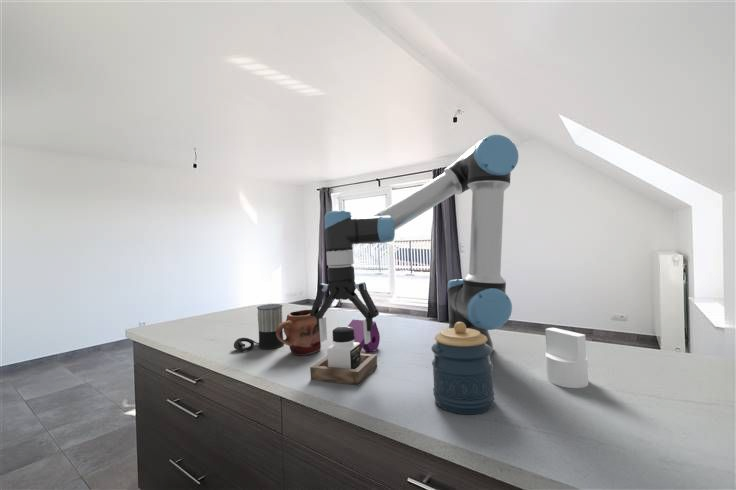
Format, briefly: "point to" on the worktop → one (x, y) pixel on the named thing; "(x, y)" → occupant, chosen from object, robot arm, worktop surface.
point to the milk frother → (265, 329)
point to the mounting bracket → (359, 334)
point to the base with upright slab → (566, 358)
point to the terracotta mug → (300, 333)
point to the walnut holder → (344, 371)
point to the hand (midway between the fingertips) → (345, 341)
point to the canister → (462, 370)
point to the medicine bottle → (344, 349)
